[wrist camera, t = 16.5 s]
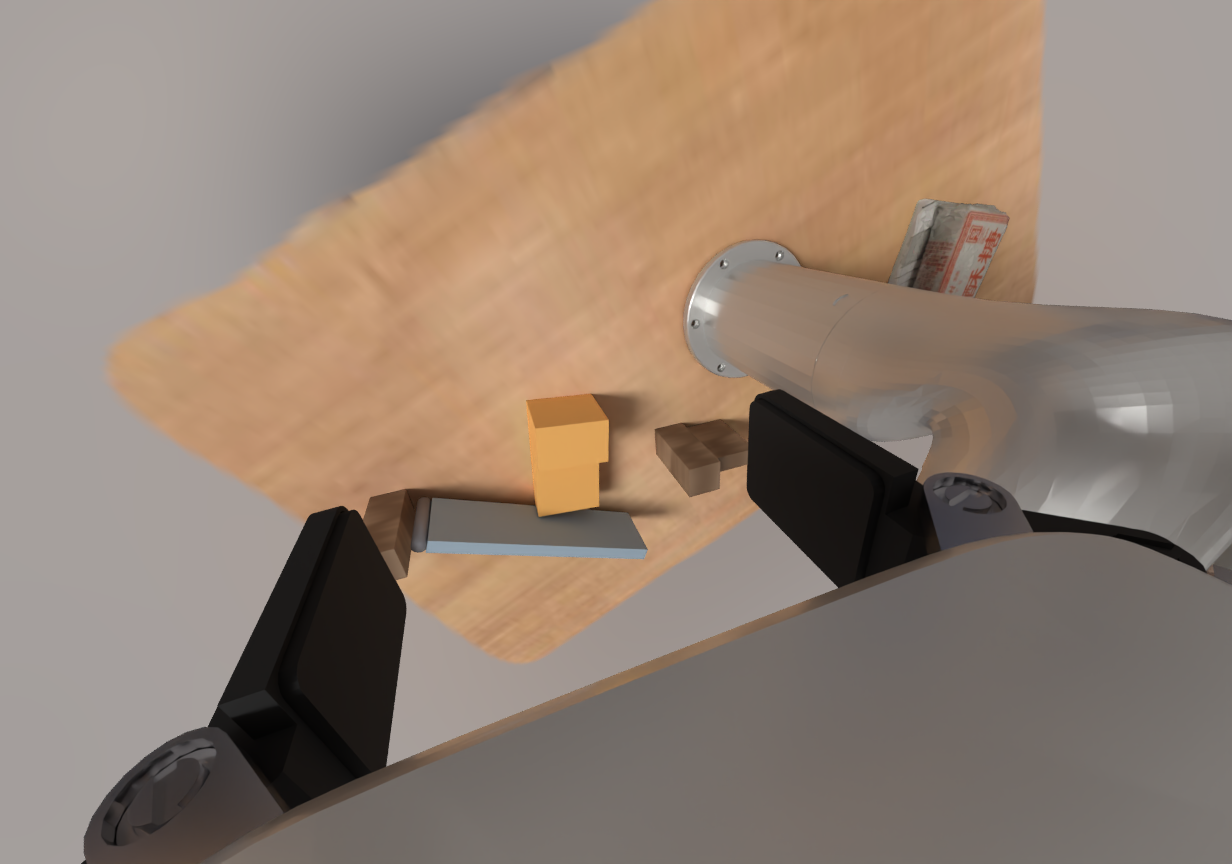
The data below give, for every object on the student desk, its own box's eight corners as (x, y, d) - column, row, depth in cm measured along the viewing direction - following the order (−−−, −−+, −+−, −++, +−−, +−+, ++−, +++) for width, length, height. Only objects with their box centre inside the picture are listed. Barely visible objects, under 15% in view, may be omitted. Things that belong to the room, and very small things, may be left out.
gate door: (416, 507, 40) (409, 552, 34) (418, 496, 39) (411, 540, 34) (624, 521, 48) (643, 559, 43) (628, 512, 48) (647, 549, 42)
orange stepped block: (525, 399, 39) (535, 428, 34) (590, 392, 41) (608, 419, 36) (534, 498, 44) (543, 537, 39) (591, 489, 46) (607, 525, 41)
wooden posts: (720, 413, 46) (764, 449, 39) (719, 437, 47) (762, 476, 41) (370, 497, 38) (350, 560, 32) (382, 523, 40) (365, 588, 33)
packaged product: (961, 197, 38) (1035, 208, 41) (912, 197, 42) (983, 208, 45) (886, 390, 46) (953, 387, 49) (851, 374, 50) (915, 373, 53)
